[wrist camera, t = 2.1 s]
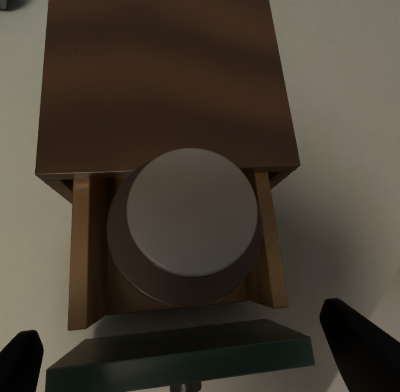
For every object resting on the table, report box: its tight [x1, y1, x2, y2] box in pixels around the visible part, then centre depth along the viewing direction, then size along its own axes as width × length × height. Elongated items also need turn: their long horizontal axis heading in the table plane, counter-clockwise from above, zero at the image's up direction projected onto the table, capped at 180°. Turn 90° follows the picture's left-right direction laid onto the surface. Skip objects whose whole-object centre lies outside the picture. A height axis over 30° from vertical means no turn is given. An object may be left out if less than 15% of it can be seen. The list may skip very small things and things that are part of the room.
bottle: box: [107, 148, 263, 307], centre depth 12 cm, size 5×5×12 cm
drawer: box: [45, 172, 315, 392], centre depth 16 cm, size 15×11×6 cm
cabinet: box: [35, 0, 300, 204], centre depth 19 cm, size 15×13×8 cm
